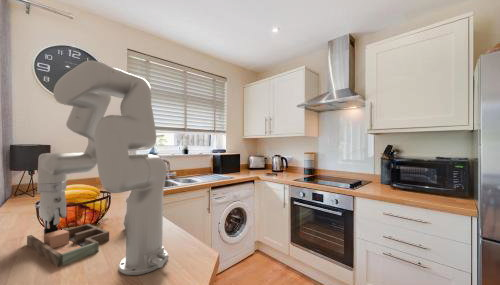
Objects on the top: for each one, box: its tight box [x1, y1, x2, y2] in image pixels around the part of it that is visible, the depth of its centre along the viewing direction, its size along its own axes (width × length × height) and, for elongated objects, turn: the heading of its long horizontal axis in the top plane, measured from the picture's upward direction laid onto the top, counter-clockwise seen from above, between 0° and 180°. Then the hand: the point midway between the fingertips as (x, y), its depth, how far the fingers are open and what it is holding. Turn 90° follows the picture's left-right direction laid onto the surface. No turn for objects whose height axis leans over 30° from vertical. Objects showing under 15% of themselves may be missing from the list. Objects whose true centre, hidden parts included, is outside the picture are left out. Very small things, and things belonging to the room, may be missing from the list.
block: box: [43, 229, 70, 249], centre depth 71 cm, size 5×5×4 cm
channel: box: [26, 223, 110, 268], centre depth 71 cm, size 27×16×3 cm, turn 60°
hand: (50, 238), depth 73 cm, fingers closed
